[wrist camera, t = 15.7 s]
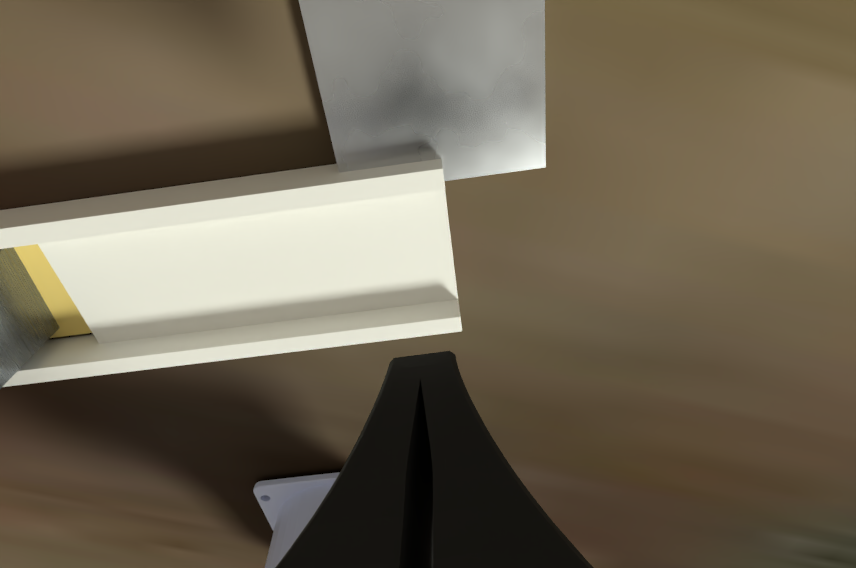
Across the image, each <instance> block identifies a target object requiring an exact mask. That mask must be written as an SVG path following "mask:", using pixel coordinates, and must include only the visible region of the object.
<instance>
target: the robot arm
mask: <svg viewBox="0 0 856 568" xmlns="http://www.w3.org/2000/svg"><path fill="white" fill-rule="evenodd" d="M253 492H254V495H255V497H256V498H257V500H258V502H259V504H260V506H261V508H262V510H263V512H264V514H265V516H266V518H267V520H268V522H269V524H270V526H271V528H272V530H273V536H272V540H271V544H270V548H269V552H268V556H267V560H266V564H265V568H593V567H592V566H591V565H590V564H589V562H588V561H587V560H586V559H585V558H584V557H583V556H582V554H581V553H580V552H579V551H578V550H577V549H576V548H575V547H574V545H573V544H572V543H571V542H570V541H569V540H568V539H567V537H566V536H565V535H564V534H563V533H562V532H561V531H560V529H559V528H558V527H557V526H556V525H555V524H554V523H553V521H552V520H551V519H550V518H549V517H548V515H547V514H546V513H545V512H544V510H543V509H542V508H541V506H540V505H539V504H538V503H537V501H536V500H535V499H534V498H533V496H532V495H531V494H530V492H529V491H528V490H527V488H526V487H525V486H524V484H523V483H522V482H521V480H520V479H519V478H518V476H517V475H516V473H515V472H514V470H513V469H512V468H511V466H510V465H509V463H508V462H507V460H506V459H505V457H504V456H503V454H502V452H501V451H500V449H499V448H498V446H497V445H496V443H495V442H494V440H493V438H492V437H491V435H490V433H489V432H488V430H487V428H486V426H485V425H484V423H483V421H482V419H481V417H480V415H479V414H478V412H477V410H476V408H475V406H474V404H473V402H472V400H471V398H470V396H469V394H468V392H467V390H466V387H465V385H464V383H463V380H462V378H461V375H460V372H459V369H458V366H457V362H456V357H455V354H453V353H452V352H450V351H446V352H438V353H430V354H422V355H414V356H407V357H399V358H394V359H393V360H392V361H391V362H390V364H389V367H388V371H387V373H386V376H385V379H384V382H383V385H382V387H381V390H380V392H379V395H378V397H377V399H376V402H375V404H374V407H373V409H372V411H371V413H370V415H369V417H368V419H367V422H366V424H365V426H364V428H363V430H362V432H361V434H360V436H359V438H358V440H357V442H356V444H355V446H354V448H353V450H352V451H351V453H350V455H349V457H348V459H347V461H346V462H345V464H344V466H343V468H342V470H341V472H337V473H328V474H319V475H310V476H301V477H292V478H283V479H274V480H265V481H259V482H257V483H256V484H255V486H254V489H253Z"/></svg>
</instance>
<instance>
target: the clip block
mask: <svg viewBox="0 0 856 568" xmlns="http://www.w3.org/2000/svg"><path fill="white" fill-rule="evenodd" d="M59 328H60V327H59V325H58V324H57V322H56V320H55V318H54V317H53V315H52V313H51V311H50V310H49V308H48V306H47V305H46V303H45V301H44V299H43V298H42V296H41V294H40V292H39V291H38V289H37V287H36V285H35V284H34V282H33V280H32V278H31V277H30V275H29V273H28V272H27V270H26V268H25V266H24V265H23V263H22V261H21V259H20V258H19V256H18V254H17V252H16V251H15V249H14V247H12V248H4V249H0V389H1V388H2V387H3V386H4V385H5V384H6V383H7V381H8V380H9V379H10V378H11V377H12V376H13V375H14V374H15V373H16V372H17V371H18V370H19V369H20V368H21V367H22V366H23V365H24V364H25V363H26V362H27V361H28V360H29V359H30V358H31V357H32V356H33V355H34V354H35V353H36V352H37V351H38V350H39V349H40V348H41V347H42V346H43V345H44V344H45V343H46V341H47V340H48V339H49V338H50V337H51V336H52V335H53V334H54V333H55V332H56V331H57V330H58V329H59Z"/></svg>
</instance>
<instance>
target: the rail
mask: <svg viewBox="0 0 856 568" xmlns="http://www.w3.org/2000/svg"><path fill="white" fill-rule="evenodd" d="M12 247H14V249H15V251H16V252H17V254H18V256H19V258H20V259H21V261H22V263H23V265H24V266H25V268H26V270H27V272H28V273H29V275H30V277H31V278H32V280H33V282H34V284H35V285H36V287H37V289H38V291H39V292H40V294H41V296H42V298H43V299H44V301H45V303H46V305H47V306H48V308H49V310H50V311H51V313H52V315H53V317H54V318H55V320H56V322H57V324H58V325H59V327H60V328H59V329H58V330H57V331H56V332H55V333H54V334H53V335H52V336H51V337H50V338H55V337H63V336H71V335H79V334H87V333H93V334H90V335H82V336H74V337H66V338H58V339H50V340H47V341H46V343H45V344H44V345H43V346H42V347H41V348H40V349H39V350H38V351H37V352H36V353H35V354H34V355H33V356H32V357H31V358H30V359H29V360H28V361H27V362H26V363H25V364H24V365H23V366H22V367H21V368H20V369H19V370H18V371H17V372H16V373H15V374H14V375H13V376H12V377H11V378H10V379H9V380H8V381H7V383H6V384H5V385H4V386H3V387H8V386H16V385H24V384H32V383H41V382H49V381H57V380H65V379H74V378H82V377H90V376H98V375H106V374H115V373H123V372H131V371H139V370H148V369H156V368H164V367H172V366H181V365H189V364H197V363H205V362H213V361H222V360H230V359H238V358H246V357H255V356H263V355H271V354H279V353H288V352H296V351H304V350H312V349H320V348H329V347H337V346H345V345H353V344H362V343H370V342H378V341H386V340H395V339H403V338H411V337H419V336H427V335H436V334H444V333H452V332H460V331H462V325H461V317H460V310H459V303H458V295H457V287H456V278H455V270H454V262H453V253H452V245H451V237H450V228H449V220H448V211H447V203H446V195H445V183H444V174H443V167H442V160H441V159H434V160H427V161H420V162H413V163H405V164H398V165H391V166H383V167H376V168H369V169H362V170H354V171H347V172H340V173H339V171H338V167H337V164H331V165H324V166H317V167H309V168H302V169H295V170H288V171H280V172H273V173H266V174H259V175H251V176H244V177H237V178H230V179H223V180H215V181H208V182H201V183H194V184H186V185H179V186H172V187H165V188H157V189H150V190H143V191H136V192H128V193H121V194H114V195H107V196H100V197H92V198H85V199H78V200H71V201H63V202H56V203H49V204H42V205H34V206H27V207H20V208H13V209H6V210H0V249H4V248H12Z"/></svg>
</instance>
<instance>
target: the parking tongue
mask: <svg viewBox="0 0 856 568" xmlns="http://www.w3.org/2000/svg"><path fill="white" fill-rule="evenodd" d="M299 5H300V9H301V13H302V17H303V22H304V26H305V30H306V34H307V39H308V43H309V47H310V51H311V56H312V60H313V64H314V68H315V73H316V77H317V81H318V86H319V90H320V94H321V98H322V103H323V107H324V111H325V115H326V120H327V124H328V128H329V132H330V137H331V141H332V145H333V149H334V154H335V158H336V162H337V167H338V171H339V173H340V172H347V171H354V170H362V169H369V168H376V167H383V166H391V165H398V164H405V163H413V162H420V161H427V160H434V159H441V160H442V167H443V174H444V181H448V180H455V179H463V178H470V177H478V176H485V175H492V174H500V173H507V172H515V171H522V170H529V169H537V168H544V167H546V145H545V0H299Z"/></svg>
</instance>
